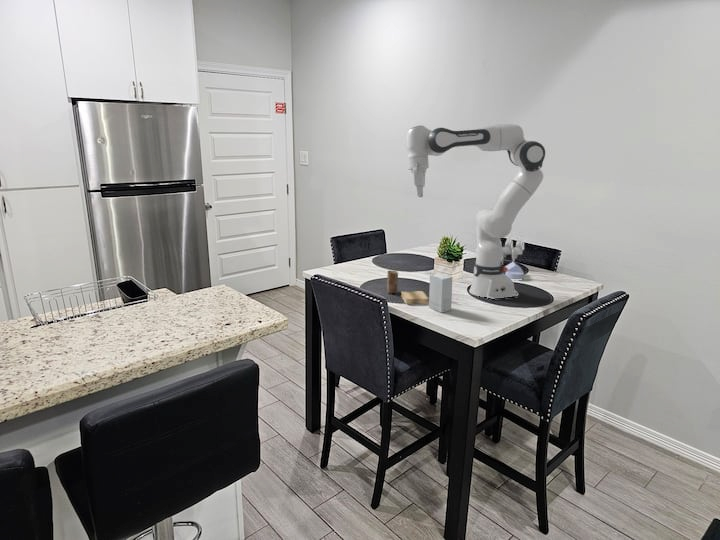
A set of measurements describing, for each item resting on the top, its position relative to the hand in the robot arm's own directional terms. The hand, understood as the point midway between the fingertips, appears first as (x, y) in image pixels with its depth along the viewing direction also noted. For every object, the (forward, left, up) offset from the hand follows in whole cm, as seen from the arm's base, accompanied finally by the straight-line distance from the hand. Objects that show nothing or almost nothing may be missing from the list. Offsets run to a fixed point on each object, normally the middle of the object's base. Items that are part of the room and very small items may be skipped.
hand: (420, 196), depth 211 cm
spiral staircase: (-61, -46, -45) cm, 89 cm away
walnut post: (+10, -1, -45) cm, 46 cm away
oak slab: (+2, +10, -45) cm, 46 cm away
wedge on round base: (-60, -23, -45) cm, 78 cm away
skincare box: (-6, +21, -45) cm, 50 cm away
